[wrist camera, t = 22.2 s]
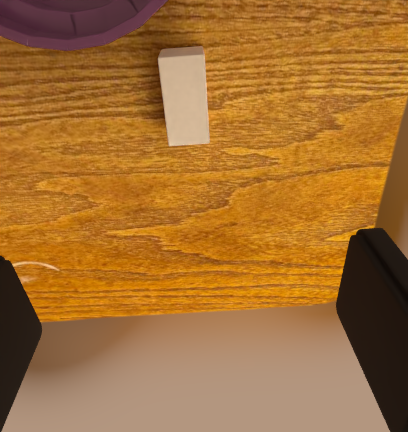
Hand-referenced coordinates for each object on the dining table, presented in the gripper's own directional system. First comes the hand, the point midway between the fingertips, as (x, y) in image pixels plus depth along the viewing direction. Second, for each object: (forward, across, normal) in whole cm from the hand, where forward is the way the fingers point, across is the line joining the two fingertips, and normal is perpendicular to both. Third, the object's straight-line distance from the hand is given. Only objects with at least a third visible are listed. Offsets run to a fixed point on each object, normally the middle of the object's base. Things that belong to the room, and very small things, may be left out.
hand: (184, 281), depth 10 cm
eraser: (+20, 0, 0) cm, 20 cm away
